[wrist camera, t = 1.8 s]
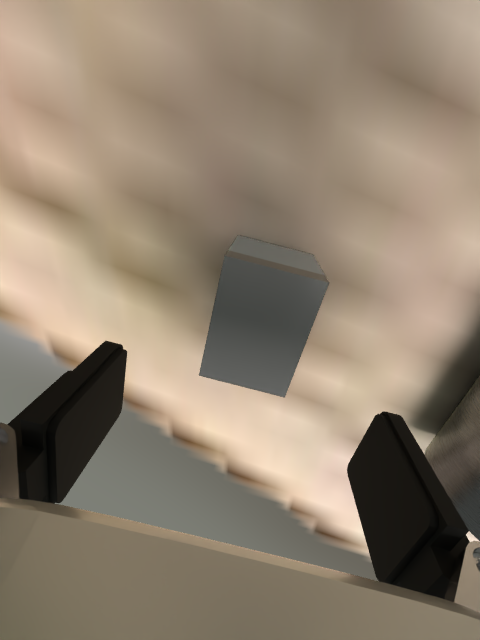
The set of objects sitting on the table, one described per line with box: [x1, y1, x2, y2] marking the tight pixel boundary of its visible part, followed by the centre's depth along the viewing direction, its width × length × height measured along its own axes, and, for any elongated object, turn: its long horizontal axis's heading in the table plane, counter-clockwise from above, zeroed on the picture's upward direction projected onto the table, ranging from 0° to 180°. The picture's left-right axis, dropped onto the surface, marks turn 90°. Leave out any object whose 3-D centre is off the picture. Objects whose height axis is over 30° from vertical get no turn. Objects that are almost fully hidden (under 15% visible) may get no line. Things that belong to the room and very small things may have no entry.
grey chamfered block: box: [199, 235, 329, 397], centre depth 18 cm, size 7×5×6 cm
